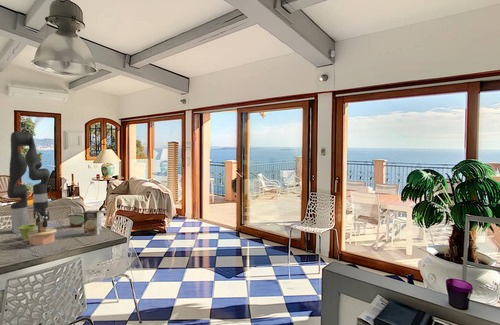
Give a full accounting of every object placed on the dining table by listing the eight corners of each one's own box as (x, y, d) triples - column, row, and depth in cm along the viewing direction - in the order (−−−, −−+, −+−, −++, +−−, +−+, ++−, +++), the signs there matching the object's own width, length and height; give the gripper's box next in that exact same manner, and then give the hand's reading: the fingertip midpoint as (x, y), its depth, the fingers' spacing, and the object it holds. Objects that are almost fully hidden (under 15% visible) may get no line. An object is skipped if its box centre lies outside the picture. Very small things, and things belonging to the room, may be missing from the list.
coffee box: (83, 236, 198) (82, 212, 197) (88, 233, 204) (87, 210, 203) (97, 235, 198) (96, 212, 197) (101, 233, 205) (101, 210, 204)
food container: (89, 225, 224) (88, 212, 224) (84, 227, 218) (83, 214, 218) (74, 225, 226) (73, 212, 225) (68, 227, 219) (68, 214, 219)
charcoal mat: (45, 236, 197) (45, 235, 197) (71, 230, 212) (71, 229, 212) (59, 240, 189) (58, 239, 188) (85, 233, 203) (85, 232, 203)
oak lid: (22, 234, 181) (21, 223, 181) (48, 228, 194) (48, 218, 194) (34, 238, 174) (33, 226, 173) (61, 232, 187) (60, 221, 186)
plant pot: (22, 242, 185) (22, 229, 185) (16, 240, 190) (15, 227, 190) (39, 238, 193) (39, 225, 193) (33, 236, 198) (32, 223, 198)
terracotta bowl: (26, 244, 182) (26, 234, 182) (48, 238, 193) (47, 229, 192) (36, 247, 176) (35, 237, 176) (57, 241, 186) (57, 232, 186)
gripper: (28, 200, 183) (29, 226, 184) (39, 202, 176) (40, 229, 177) (41, 198, 190) (42, 223, 191) (53, 200, 183) (54, 226, 184)
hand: (41, 226), depth 184 cm, fingers open, 8 cm apart
